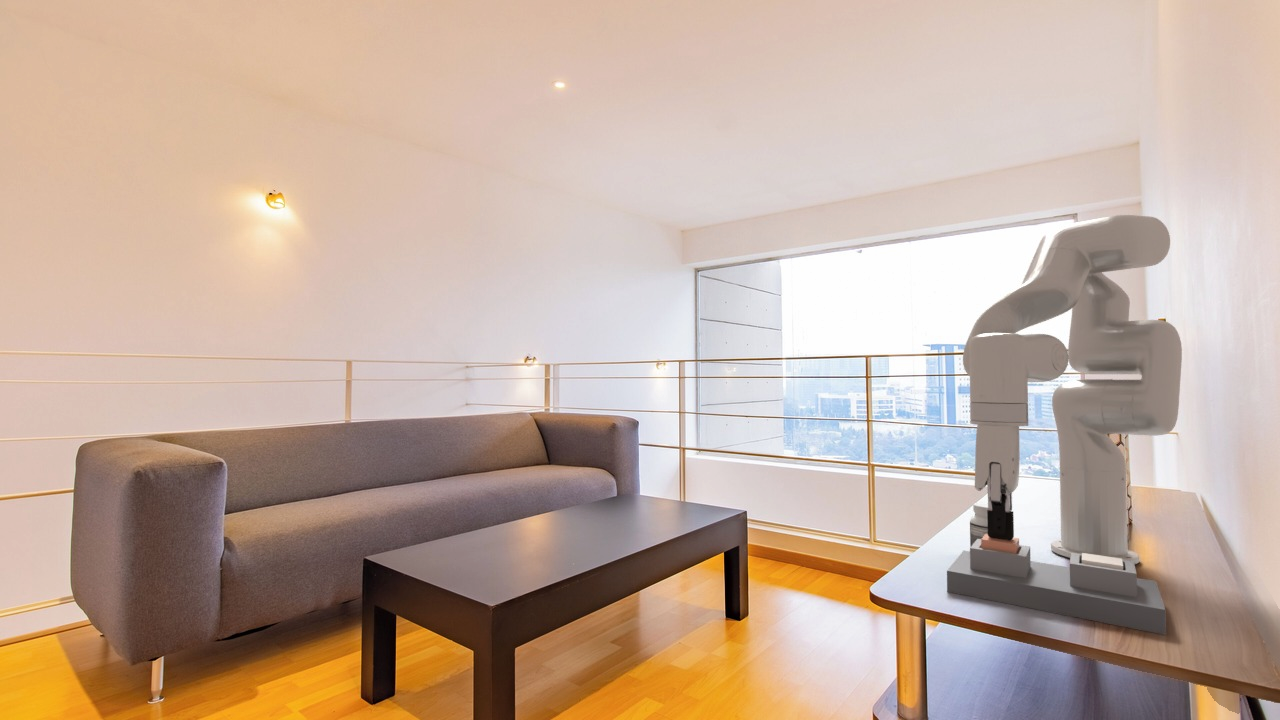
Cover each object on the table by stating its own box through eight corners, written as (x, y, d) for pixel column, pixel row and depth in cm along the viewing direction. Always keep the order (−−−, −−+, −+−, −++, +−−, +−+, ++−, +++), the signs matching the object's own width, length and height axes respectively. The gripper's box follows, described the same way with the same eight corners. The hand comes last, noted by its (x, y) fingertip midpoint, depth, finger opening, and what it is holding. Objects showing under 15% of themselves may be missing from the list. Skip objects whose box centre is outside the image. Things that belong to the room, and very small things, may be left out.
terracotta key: (985, 553, 92) (985, 533, 92) (1019, 558, 89) (1019, 538, 89) (981, 559, 88) (981, 539, 88) (1016, 565, 86) (1016, 544, 86)
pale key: (1082, 574, 84) (1082, 552, 85) (1122, 580, 82) (1121, 558, 82) (1082, 581, 81) (1081, 559, 81) (1123, 589, 78) (1123, 565, 78)
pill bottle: (984, 557, 104) (984, 500, 105) (1017, 567, 99) (1016, 507, 100) (963, 561, 102) (962, 503, 102) (995, 571, 97) (994, 509, 97)
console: (963, 568, 98) (963, 532, 98) (1156, 602, 83) (1155, 559, 83) (947, 591, 87) (946, 549, 87) (1166, 635, 72) (1164, 584, 72)
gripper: (977, 412, 98) (979, 524, 97) (962, 416, 86) (963, 543, 85) (1032, 414, 93) (1034, 532, 93) (1023, 418, 81) (1025, 553, 81)
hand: (1000, 537), depth 89 cm, fingers closed
